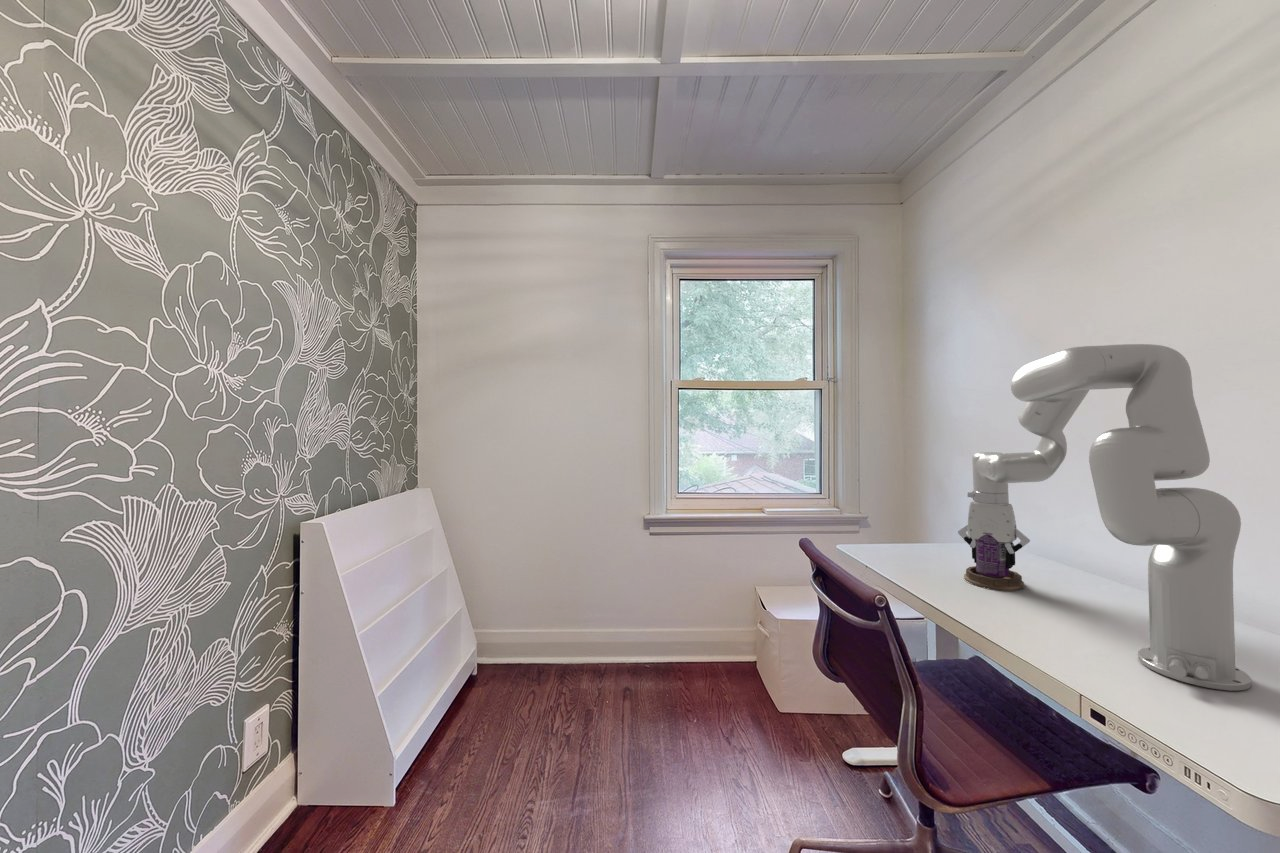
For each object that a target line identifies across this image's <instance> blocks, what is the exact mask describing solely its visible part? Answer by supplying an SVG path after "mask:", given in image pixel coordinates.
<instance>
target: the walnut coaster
mask: <svg viewBox="0 0 1280 853" xmlns="http://www.w3.org/2000/svg"><path fill="white" fill-rule="evenodd" d="M963 579H965V580H966V581H968V582H970V583H972V584H974V585H973V586H975V585H977V586H976V587H979V586H981V587H980V588H982V587H985V588H984V589H987V588H989V589H988V590H993V589H995V590H994V591H1001V590H1002V591H1003V592H1014V591H1015V592H1016V591H1021V590H1023V589H1025V581H1023V576H1022V575H1021V574H1020V573H1018V572H1016V571H1014V570H1011V569H1009V576H1007V577H1004V578H1000V579H998V578H990V577H985V576H983V575H981V574H980V573H978V572H977V571H976V565H975V566H969V567H967V568H966V569H965V573H964V575H963ZM965 580H964V581H965ZM966 581H965V582H966ZM968 582H967V583H968ZM970 583H969V584H970ZM972 584H971V585H972ZM1002 591H1001V592H1002Z"/></svg>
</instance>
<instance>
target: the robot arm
mask: <svg viewBox="0 0 1280 853" xmlns="http://www.w3.org/2000/svg"><path fill="white" fill-rule="evenodd" d="M1192 379H1193V378H1192V371H1191V367H1190V364H1189V362H1188V360H1187V358H1186V357H1185V356H1184V355H1183V354H1182V353H1180V352H1179V351H1178V350H1176V349H1174V348H1171V347H1169V346H1165V345H1162V344H1161V345H1160V344H1153V343H1152V344H1151V343H1150V344H1147V343H1146V344H1145V343H1129V344H1127V343H1125V344H1109V345H1108V344H1107V345H1089V346H1088V345H1084V346H1074V347H1073V346H1072V347H1069V348H1064V349H1063V350H1060V351H1057V352H1054V353H1052V354H1048V355H1046V356H1043V357H1041V358H1038V359H1036V360H1033V361H1031V362H1028V363H1025V364H1024V365H1022V366H1020V368H1018V369H1017V371H1016V372H1015V373H1014V375H1013V376H1012V379H1011V382H1010V391H1011V394H1012V395H1013V396H1014V398H1016V399H1017V400H1019V401H1022V402H1026V403H1025V404H1024V406H1023V408H1022V410H1021V411H1020V413H1019V415H1018V422H1019V424H1020V425H1021V427H1022V428H1024V429H1025V430H1026V431H1028V432H1029V433H1032V434H1033V435H1036V436H1039V437H1041V439H1040V441H1038V442H1039V443H1038V444H1037V445H1036V446H1035V449H1034V450H1032V452H1029V451H1028V452H1009V453H1003V452H999V451H998V452H997V451H996V452H995V451H994V452H993V451H984V452H983V451H980V452H976V453H974V454H973V456H972V483H973V484H972V486H973V490H972V491H971V492H969V491H968V492H967V498H971V499H972V501H970V502H969V506H968V515H967V524H966V525H965V526H964V527H962V528H960V529H959V530H958V531H957V534H958V535H959V536H960V537H961V538H962V540H964V542H965V543H967V544H968V545H969V547H970V548H971V559H973V560H974V561H973V563H975V564H976V547H975V546H976V543H975V539H976V540H978V539H979V538H980V537H981V536H983V535H987V534H983V533H991V534H993V535H991V536H992V537H994V538H995V539H996V540H997V541H998V542H999V543H1005V546H1006V548H1007V550H1008V553H1006V567H1007V568H1008V569H1009V570H1011V569H1012V568H1013V567H1014V566H1016V552H1018V551H1020V550H1022V548H1024V547H1025V546H1026V545H1028V544H1029V543H1030V542H1031V539H1029V538H1028V536H1026V535H1025V534H1023V533H1022V532H1021V531H1020V530H1019V529H1018V528H1017V522H1016V516H1015V511H1014V508H1013V505H1012V503H1010V502H1009V501H1010V500H1009V484H1018V483H1019V484H1020V483H1040V482H1044V481H1046V480H1048V479H1049V478H1051V477H1052V476H1053V475H1054V474H1055V473H1056V472H1057V471H1058V469H1059V468H1060V466H1061V465H1062V463H1063V462H1064V461H1065V459H1066V457H1067V452H1068V446H1067V444H1068V443H1067V439H1066V435H1065V434H1064V432H1063V430H1064V428H1065V427H1066V425H1068V422H1070V420H1071V419H1072V416H1074V414H1075V412H1076V411H1077V410H1078V409H1079V406H1080V405H1081V404H1082V402H1083V400H1084V399H1085V398H1086V396H1088V393H1089V392H1090V390H1092V391H1093V390H1108V389H1109V390H1111V389H1131V390H1130V391H1129V394H1128V395H1127V396H1128V397H1127V399H1126V402H1125V403H1126V404H1125V414H1126V418H1127V421H1128V427H1118V428H1114V429H1113V428H1112V429H1109V430H1106V431H1104V432H1102V433H1101V434H1099V435H1098V436H1097V437H1096V438H1095V439H1094V441H1093V442H1092V444H1091V446H1090V449H1089V452H1088V453H1089V455H1088V462H1089V467H1090V468H1089V469H1090V473H1091V478H1092V482H1093V487H1094V492H1095V496H1096V500H1097V505H1098V508H1099V513H1100V516H1101V519H1102V522H1103V524H1104V526H1105V527H1106V529H1107V531H1108V532H1109V533H1110V534H1111V535H1112V536H1113V537H1114V538H1115V539H1117V540H1119V541H1120V542H1122V543H1124V544H1128V545H1131V546H1140V547H1141V546H1142V547H1146V546H1147V547H1149V546H1151V547H1152V546H1153V548H1152V549H1151V551H1150V554H1149V557H1148V562H1147V584H1148V585H1147V588H1148V589H1147V590H1148V614H1149V616H1148V617H1149V623H1148V624H1149V647H1144V648H1141V649H1139V650H1138V652H1137V659H1138V661H1139V662H1140V663H1141V664H1142V665H1143V666H1145V667H1147V668H1148V669H1150V670H1151V671H1154V672H1155V673H1158V674H1160V675H1163V676H1165V677H1167V678H1170V679H1174V680H1176V681H1178V682H1181V683H1186V684H1190V685H1193V686H1198V687H1200V688H1201V687H1202V688H1207V689H1211V690H1212V689H1213V690H1218V691H1228V692H1229V691H1232V692H1234V691H1235V692H1236V691H1238V692H1239V691H1245V690H1248V689H1250V688H1251V687H1252V678H1251V677H1250V675H1249V674H1248V673H1246V672H1245V671H1243V670H1242V669H1240V668H1239V667H1237V666H1236V642H1235V641H1236V639H1235V611H1234V610H1235V607H1234V604H1235V603H1234V558H1235V551H1236V548H1237V547H1236V546H1237V544H1238V540H1239V537H1240V532H1241V526H1242V522H1241V520H1242V519H1241V515H1240V512H1239V510H1238V508H1237V507H1236V505H1235V504H1234V503H1233V502H1232V501H1231V500H1230V499H1228V498H1227V497H1225V496H1224V495H1223V494H1220V493H1218V492H1216V491H1213V490H1209V489H1206V488H1205V489H1204V488H1198V487H1163V488H1161V487H1160V488H1156V487H1157V486H1156V481H1157V482H1158V481H1176V480H1178V481H1179V480H1184V479H1185V480H1186V479H1192V478H1196V477H1198V476H1201V475H1202V474H1204V473H1205V472H1206V471H1207V470H1208V468H1209V466H1210V462H1211V460H1210V459H1211V458H1210V452H1209V449H1208V443H1207V441H1206V436H1205V432H1204V429H1203V425H1202V420H1201V417H1200V414H1199V411H1198V410H1199V409H1198V407H1197V405H1196V400H1195V398H1194V392H1193V380H1192ZM1017 538H1018V539H1019V540H1020V541H1019V542H1018V543H1017V544H1016V545H1015V544H1014V541H1016V540H1017Z"/></svg>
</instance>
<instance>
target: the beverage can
mask: <svg viewBox="0 0 1280 853" xmlns="http://www.w3.org/2000/svg"><path fill="white" fill-rule="evenodd" d="M983 534H987V535H983V536H981V537H980V538H979V539H978V540H976V539H975V543H976V546H975V547H976V563H975V566H976V571H977V572H978V573H980V574H981V575H983V576H985V577H990V578H998V579H1000V578H1004V577H1007V576H1009V570H1010V569H1008V568H1007V567H1006V553H1008V550H1007V548H1006V546H1005V543H999V542H998V541H997V540H996V539H995V538H994V537H992V536H991V535H993V534H991V533H983Z"/></svg>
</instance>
